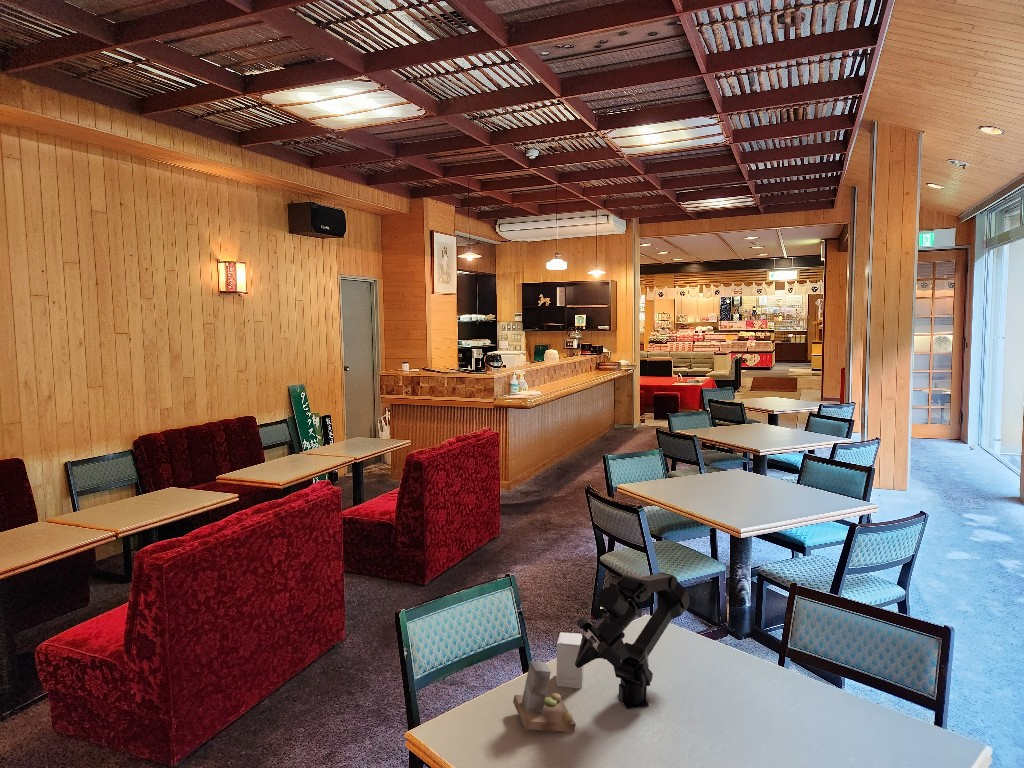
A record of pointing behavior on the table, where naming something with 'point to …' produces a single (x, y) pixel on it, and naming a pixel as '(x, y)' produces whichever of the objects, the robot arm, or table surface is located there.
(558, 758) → the table surface
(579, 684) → the supplement box
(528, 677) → the wooden base with pillar
